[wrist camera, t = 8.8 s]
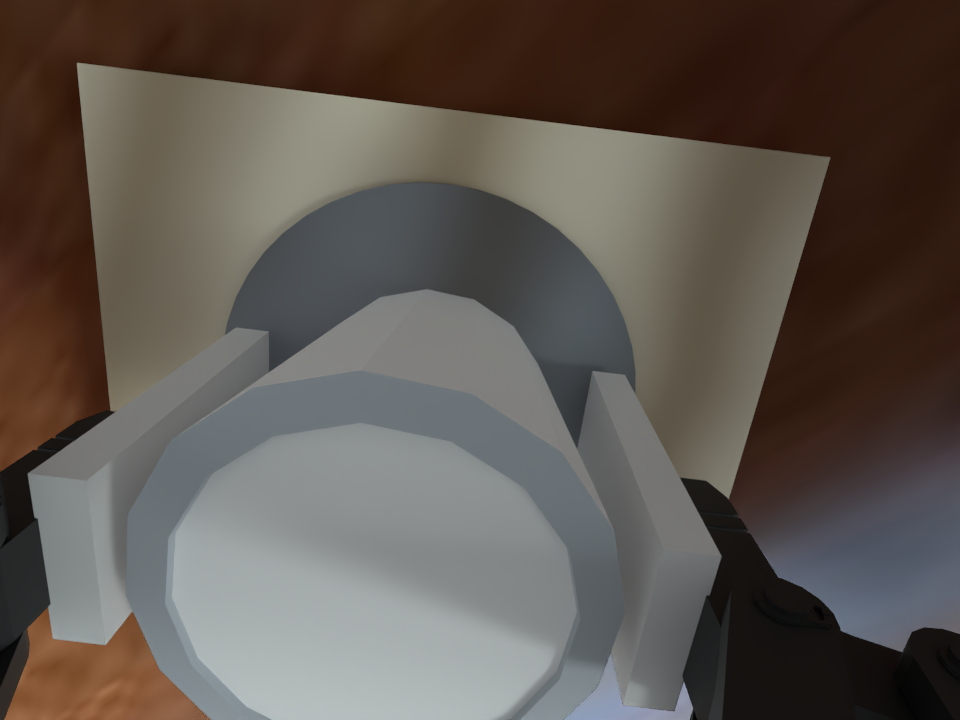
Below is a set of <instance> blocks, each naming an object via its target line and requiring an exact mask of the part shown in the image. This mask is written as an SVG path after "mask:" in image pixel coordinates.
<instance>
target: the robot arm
mask: <svg viewBox="0 0 960 720" xmlns="http://www.w3.org/2000/svg"><path fill="white" fill-rule="evenodd" d="M267 373H269V331H261V330H253V329H245V328H237V327H236V328H235V329H233V330H232V331H230V332H229V333H227V334H226V335H225V336H223V337H222V338H220V339H219V340H217V341H216V342H215V343H213V344H212V345H210V346H209V347H207V348H206V349H205V350H203V351H202V352H200V353H199V354H197V355H196V356H195V357H193V358H192V359H190V360H189V361H188V362H186V363H185V364H183V365H182V366H180V367H179V368H178V369H176V370H175V371H173V372H172V373H170V374H169V375H168V376H166V377H165V378H163V379H162V380H160V381H159V382H158V383H156V384H155V385H153V386H152V387H150V388H149V389H148V390H146V391H145V392H143V393H142V394H140V395H139V396H138V397H136V398H135V399H133V400H132V401H131V402H129V403H128V404H126V405H125V406H123V407H122V408H121V409H119V410H118V411H116V412H115V411H104V412H101V413H98V414H96V415H93V416H90V417H87V418H85V419H82V420H79V421H77V422H75V423H74V424H72V425H71V426H69V427H68V428H66V429H65V430H63V431H62V432H60V433H59V434H57V435H56V438H51V439H49V440H48V441H46V442H45V443H43V444H42V445H40V446H39V447H38V450H33V451H31V452H30V453H28V454H27V455H25V456H24V457H22V458H21V459H19V460H18V461H16V462H15V463H13V464H12V465H10V466H9V467H7V468H6V469H4V470H3V471H1V472H0V720H4V719H5V716H6V714H7V711H8V708H9V706H10V703H11V701H12V698H13V695H14V693H15V690H16V688H17V685H18V682H19V680H20V677H21V675H22V672H23V669H24V667H25V664H26V662H27V659H28V656H29V645H30V643H29V637H28V631H27V628H28V627H29V626H30V625H31V624H32V623H33V622H34V621H35V620H36V618H37V617H38V616H39V615H40V614H41V613H42V612H43V611H44V610H45V609H46V608H47V607H48V610H49V616H50V623H51V629H52V636H53V639H58V640H66V641H75V642H83V643H92V644H101V645H106V644H107V643H108V641H109V640H110V639H111V638H112V636H113V635H114V634H115V633H116V631H117V630H118V629H119V627H120V626H121V625H122V624H123V622H124V621H125V620H126V619H127V617H128V616H129V615H130V613H131V612H132V611H133V610H132V608H131V606H130V604H129V602H128V600H127V597H126V562H127V517H128V513H129V512H130V510H131V508H132V506H133V505H134V503H135V501H136V500H137V498H138V496H139V494H140V493H141V491H142V489H143V487H144V486H145V484H146V482H147V480H148V479H149V477H150V475H151V474H152V472H153V470H154V468H155V467H156V465H157V463H158V461H159V460H160V458H161V456H162V455H163V453H164V451H165V449H166V448H167V446H168V444H169V442H170V441H171V440H172V439H173V438H175V437H176V436H178V435H179V434H181V433H182V432H184V431H185V430H186V429H188V428H189V427H191V426H192V425H194V424H195V423H197V422H198V421H199V420H201V419H202V418H204V417H205V416H207V415H208V414H210V413H211V412H212V411H214V410H215V409H217V408H218V407H220V406H221V405H223V404H224V403H226V402H227V401H228V400H230V399H231V398H233V397H234V396H236V395H237V394H239V393H240V392H241V391H243V390H244V389H246V388H247V387H249V386H250V385H252V384H253V383H254V382H256V381H257V380H259V379H260V378H262V377H263V376H265V375H266V374H267ZM577 450H578V453H579V455H580V457H581V459H582V461H583V464H584V466H585V468H586V470H587V472H588V474H589V477H590V479H591V481H592V483H593V485H594V488H595V490H596V492H597V494H598V496H599V498H600V501H601V503H602V505H603V507H604V509H605V512H606V514H607V516H608V518H609V520H610V522H611V525H612V527H613V529H614V531H615V539H616V547H617V555H618V562H619V570H620V578H621V586H622V594H623V602H624V610H625V615H624V618H623V621H622V623H621V626H620V629H619V631H618V634H617V637H616V639H615V642H614V645H613V647H612V650H611V653H612V658H613V663H614V667H615V672H616V676H617V681H618V686H619V690H620V695H621V700H622V704H623V705H624V706H632V707H641V708H650V709H658V710H667V711H675V708H676V705H677V701H678V698H679V695H680V692H681V688H682V685H683V682H685V685H686V688H687V691H688V694H689V697H690V700H691V703H692V706H693V711H692V714H691V718H690V720H960V634H957V633H954V632H951V631H947V630H944V629H935V628H922V629H919V630H916V631H913V632H912V633H911V635H910V637H909V640H908V642H907V644H906V646H905V648H904V651H903V652H900V651H897V650H894V649H891V648H888V647H885V646H882V645H879V644H876V643H872V642H869V641H866V640H863V639H860V638H857V637H854V636H852V635H849V634H847V633H844V632H842V631H840V627H839V625H838V622H837V620H836V618H835V616H834V614H833V613H832V612H831V611H830V609H829V608H828V607H827V606H826V605H825V604H824V603H823V602H822V601H821V600H820V599H818V598H817V597H815V596H814V595H813V594H811V593H810V592H808V591H807V590H805V589H804V588H802V587H800V586H798V585H795V584H793V583H791V582H788V581H786V580H784V579H781V578H778V577H777V575H776V574H775V572H774V570H773V569H772V567H771V566H770V564H769V563H768V561H767V559H766V558H765V556H764V555H763V553H762V552H761V550H760V548H759V547H758V545H757V544H756V542H755V541H754V539H753V537H752V536H751V534H750V533H747V528H746V526H745V525H744V523H743V522H742V520H741V519H740V518H738V514H737V512H736V511H735V509H734V508H733V506H732V504H731V503H730V501H729V500H728V498H727V497H726V496H725V495H724V494H722V493H721V492H720V491H719V490H717V489H716V488H715V487H714V486H712V485H711V484H710V483H709V482H707V481H705V480H697V479H688V478H680V477H679V475H678V474H677V472H676V470H675V468H674V466H673V464H672V462H671V460H670V459H669V457H668V455H667V453H666V451H665V449H664V447H663V445H662V444H661V442H660V440H659V438H658V436H657V434H656V432H655V430H654V429H653V427H652V425H651V423H650V421H649V419H648V417H647V415H646V414H645V412H644V410H643V408H642V406H641V404H640V402H639V400H638V398H637V397H636V395H635V393H634V391H633V389H632V387H631V385H630V383H629V382H628V380H627V378H626V376H625V375H623V374H614V373H606V372H598V371H592V376H591V381H590V386H589V391H588V396H587V401H586V407H585V412H584V417H583V422H582V427H581V432H580V438H579V443H578V448H577Z"/></svg>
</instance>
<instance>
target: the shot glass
mask: <svg viewBox="0 0 960 720" xmlns="http://www.w3.org/2000/svg"><path fill="white" fill-rule="evenodd" d="M126 597H127V600H128V602H129V604H130V606H131V608H132V610H133V613H134V615H135V617H136V619H137V621H138V624H139V626H140V628H141V630H142V632H143V634H144V637H145V639H146V641H147V643H148V645H149V648H150V650H151V652H152V654H153V656H154V659H155V661H156V663H157V665H158V667H159V669H160V671H161V672H163V673H164V674H165V675H166V676H167V677H168V678H169V679H170V680H171V681H172V682H173V683H174V684H175V685H176V686H177V687H178V688H179V689H180V690H181V691H182V692H183V693H184V694H185V695H186V696H187V697H188V698H189V699H190V700H191V701H192V702H193V703H194V704H195V705H196V706H198V707H199V708H200V709H201V710H202V711H203V712H204V713H205V714H206V715H207V716H208V717H209V718H210V719H211V720H564V719H565V718H566V717H567V716H568V715H569V714H570V713H571V712H572V711H574V710H575V709H576V708H577V707H578V706H579V705H580V704H581V703H582V702H583V701H584V700H585V699H586V698H587V697H588V696H589V695H590V694H591V693H592V692H593V691H594V690H595V689H596V688H597V687H598V685H599V682H600V679H601V677H602V674H603V671H604V669H605V666H606V663H607V661H608V658H609V655H610V653H611V650H612V647H613V645H614V642H615V639H616V637H617V634H618V631H619V629H620V626H621V623H622V621H623V618H624V615H625V610H624V602H623V594H622V586H621V578H620V570H619V562H618V555H617V547H616V539H615V531H614V529H613V527H612V525H611V522H610V520H609V518H608V516H607V514H606V512H605V509H604V507H603V505H602V503H601V501H600V498H599V496H598V494H597V492H596V490H595V488H594V485H593V483H592V481H591V479H590V477H589V474H588V472H587V470H586V468H585V466H584V464H583V461H582V459H581V457H580V455H579V453H578V450H577V448H576V446H575V444H574V442H573V439H572V437H571V435H570V433H569V431H568V429H567V426H566V424H565V422H564V420H563V418H562V415H561V413H560V411H559V409H558V407H557V405H556V402H555V400H554V398H553V396H552V394H551V391H550V389H549V387H548V385H547V383H546V381H545V378H544V376H543V374H542V372H541V370H540V367H539V365H538V363H537V362H536V360H535V359H534V357H533V356H532V354H531V353H530V351H529V349H528V348H527V346H526V345H525V343H524V342H523V340H522V339H521V337H520V336H519V334H518V332H517V331H516V329H515V328H514V326H512V325H511V324H509V323H508V322H507V321H505V320H504V319H502V318H501V317H499V316H498V315H496V314H495V313H493V312H492V311H490V310H489V309H488V308H486V307H485V306H483V305H482V304H480V303H479V302H477V301H476V300H474V299H470V298H465V297H461V296H456V295H452V294H447V293H442V292H438V291H433V290H429V289H425V290H419V291H413V292H408V293H402V294H396V295H390V296H384V297H380V298H378V299H377V300H375V301H374V302H372V303H371V304H369V305H367V306H366V307H364V308H363V309H361V310H360V311H358V312H357V313H355V314H354V315H352V316H350V317H349V318H347V319H346V320H344V321H343V322H341V323H340V324H338V325H337V326H335V327H334V328H333V329H331V330H330V331H328V332H327V333H325V334H324V335H322V336H321V337H320V338H318V339H317V340H315V341H314V342H312V343H311V344H309V345H308V346H307V347H305V348H304V349H302V350H301V351H299V352H298V353H296V354H295V355H293V356H292V357H291V358H289V359H288V360H286V361H285V362H283V363H282V364H280V365H279V366H278V367H276V368H275V369H273V370H272V371H270V372H269V373H267V374H266V375H265V376H263V377H262V378H260V379H259V380H257V381H256V382H254V383H253V384H252V385H250V386H249V387H247V388H246V389H244V390H243V391H241V392H240V393H239V394H237V395H236V396H234V397H233V398H231V399H230V400H228V401H227V402H226V403H224V404H223V405H221V406H220V407H218V408H217V409H215V410H214V411H212V412H211V413H210V414H208V415H207V416H205V417H204V418H202V419H201V420H199V421H198V422H197V423H195V424H194V425H192V426H191V427H189V428H188V429H186V430H185V431H184V432H182V433H181V434H179V435H178V436H176V437H175V438H173V439H172V440H171V441H170V442H169V444H168V446H167V448H166V449H165V451H164V453H163V455H162V456H161V458H160V460H159V461H158V463H157V465H156V467H155V468H154V470H153V472H152V474H151V475H150V477H149V479H148V480H147V482H146V484H145V486H144V487H143V489H142V491H141V493H140V494H139V496H138V498H137V500H136V501H135V503H134V505H133V506H132V508H131V510H130V512H129V513H128V517H127V562H126Z"/></svg>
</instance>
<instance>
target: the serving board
mask: <svg viewBox="0 0 960 720" xmlns="http://www.w3.org/2000/svg"><path fill="white" fill-rule="evenodd" d="M77 72H78V82H79V92H80V102H81V113H82V123H83V133H84V144H85V154H86V164H87V175H88V185H89V195H90V205H91V216H92V226H93V236H94V247H95V257H96V267H97V278H98V288H99V298H100V309H101V319H102V329H103V339H104V350H105V360H106V370H107V381H108V391H109V401H110V411H115V412H116V411H118V410H119V409H121V408H122V407H123V406H125V405H126V404H128V403H129V402H131V401H132V400H133V399H135V398H136V397H138V396H139V395H140V394H142V393H143V392H145V391H146V390H148V389H149V388H150V387H152V386H153V385H155V384H156V383H158V382H159V381H160V380H162V379H163V378H165V377H166V376H168V375H169V374H170V373H172V372H173V371H175V370H176V369H178V368H179V367H180V366H182V365H183V364H185V363H186V362H188V361H189V360H190V359H192V358H193V357H195V356H196V355H197V354H199V353H200V352H202V351H203V350H205V349H206V348H207V347H209V346H210V345H212V344H213V343H215V342H216V341H217V340H219V339H220V338H222V337H223V336H225V335H226V334H227V333H229V332H230V331H232V330H233V329H235V328H236V327H237V328H245V329H253V330H261V331H269V372H270V371H272V370H273V369H275V368H276V367H278V366H279V365H280V364H282V363H283V362H285V361H286V360H288V359H289V358H291V357H292V356H293V355H295V354H296V353H298V352H299V351H301V350H302V349H304V348H305V347H307V346H308V345H309V344H311V343H312V342H314V341H315V340H317V339H318V338H320V337H321V336H322V335H324V334H325V333H327V332H328V331H330V330H331V329H333V328H334V327H335V326H337V325H338V324H340V323H341V322H343V321H344V320H346V319H347V318H349V317H350V316H352V315H354V314H355V313H357V312H358V311H360V310H361V309H363V308H364V307H366V306H367V305H369V304H371V303H372V302H374V301H375V300H377V299H378V298H380V297H384V296H390V295H396V294H402V293H408V292H413V291H419V290H425V289H429V290H433V291H438V292H442V293H447V294H452V295H456V296H461V297H465V298H470V299H474V300H476V301H477V302H479V303H480V304H482V305H483V306H485V307H486V308H488V309H489V310H490V311H492V312H493V313H495V314H496V315H498V316H499V317H501V318H502V319H504V320H505V321H507V322H508V323H509V324H511V325H512V326H514V328H515V329H516V331H517V332H518V334H519V336H520V337H521V339H522V340H523V342H524V343H525V345H526V346H527V348H528V349H529V351H530V353H531V354H532V356H533V357H534V359H535V360H536V362H537V363H538V365H539V367H540V370H541V372H542V374H543V376H544V378H545V381H546V383H547V385H548V387H549V389H550V391H551V394H552V396H553V398H554V400H555V402H556V405H557V407H558V409H559V411H560V413H561V415H562V418H563V420H564V422H565V424H566V426H567V429H568V431H569V433H570V435H571V437H572V439H573V442H574V444H575V446H576V448H578V443H579V438H580V432H581V427H582V422H583V417H584V412H585V407H586V401H587V396H588V391H589V386H590V381H591V376H592V371H598V372H606V373H614V374H623V375H625V376H626V378H627V380H628V382H629V383H630V385H631V387H632V389H633V391H634V393H635V395H636V397H637V398H638V400H639V402H640V404H641V406H642V408H643V410H644V412H645V414H646V415H647V417H648V419H649V421H650V423H651V425H652V427H653V429H654V430H655V432H656V434H657V436H658V438H659V440H660V442H661V444H662V445H663V447H664V449H665V451H666V453H667V455H668V457H669V459H670V460H671V462H672V464H673V466H674V468H675V470H676V472H677V474H678V475H679V477H680V478H688V479H697V480H705V481H707V482H709V483H710V484H711V485H712V486H714V487H715V488H716V489H717V490H719V491H720V492H721V493H722V494H724V495H725V496H726V497H727V498H728V500H729V497H730V493H731V490H732V487H733V483H734V480H735V477H736V473H737V470H738V467H739V463H740V460H741V456H742V453H743V450H744V446H745V443H746V440H747V436H748V433H749V430H750V426H751V423H752V420H753V416H754V413H755V409H756V406H757V403H758V399H759V396H760V393H761V389H762V386H763V383H764V379H765V376H766V373H767V369H768V366H769V362H770V359H771V356H772V352H773V349H774V346H775V342H776V339H777V336H778V332H779V329H780V326H781V322H782V319H783V315H784V312H785V309H786V305H787V302H788V299H789V295H790V292H791V289H792V285H793V282H794V278H795V275H796V272H797V268H798V265H799V262H800V258H801V255H802V252H803V248H804V245H805V242H806V238H807V235H808V231H809V228H810V225H811V221H812V218H813V215H814V211H815V208H816V205H817V201H818V198H819V195H820V191H821V188H822V184H823V181H824V178H825V174H826V171H827V168H828V164H829V161H830V158H831V157H823V156H815V155H807V154H799V153H791V152H783V151H775V150H767V149H759V148H751V147H743V146H735V145H727V144H720V143H712V142H704V141H696V140H688V139H680V138H672V137H664V136H656V135H648V134H640V133H632V132H624V131H616V130H608V129H600V128H592V127H584V126H576V125H569V124H561V123H553V122H545V121H537V120H529V119H521V118H513V117H505V116H497V115H489V114H481V113H473V112H465V111H457V110H449V109H441V108H433V107H425V106H417V105H410V104H402V103H394V102H386V101H378V100H370V99H362V98H354V97H346V96H338V95H330V94H322V93H314V92H306V91H298V90H290V89H282V88H274V87H266V86H259V85H251V84H243V83H235V82H227V81H219V80H211V79H203V78H195V77H187V76H179V75H171V74H163V73H155V72H147V71H139V70H131V69H123V68H115V67H108V66H100V65H92V64H84V63H77Z"/></svg>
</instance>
